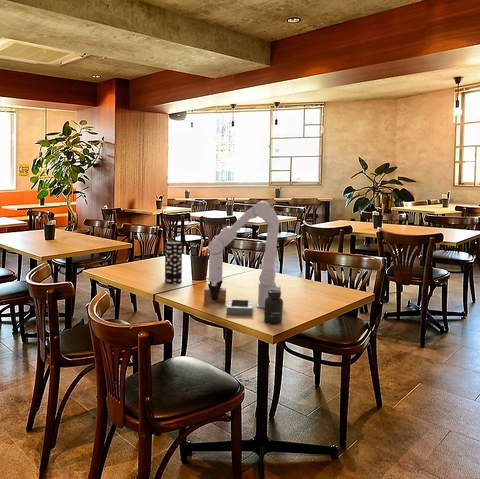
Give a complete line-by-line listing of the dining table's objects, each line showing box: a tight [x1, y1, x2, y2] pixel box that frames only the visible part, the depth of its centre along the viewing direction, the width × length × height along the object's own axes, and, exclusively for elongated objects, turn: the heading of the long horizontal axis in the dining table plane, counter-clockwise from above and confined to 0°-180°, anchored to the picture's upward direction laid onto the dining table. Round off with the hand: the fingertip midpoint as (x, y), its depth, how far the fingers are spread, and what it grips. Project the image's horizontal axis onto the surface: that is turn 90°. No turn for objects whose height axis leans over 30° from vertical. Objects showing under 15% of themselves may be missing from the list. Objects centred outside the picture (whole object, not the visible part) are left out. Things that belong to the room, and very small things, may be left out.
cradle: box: [226, 298, 253, 317], centre depth 188 cm, size 10×12×3 cm
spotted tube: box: [164, 241, 183, 285], centre depth 232 cm, size 8×8×20 cm
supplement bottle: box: [263, 290, 284, 326], centre depth 174 cm, size 7×7×12 cm
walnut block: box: [203, 286, 227, 305], centre depth 199 cm, size 9×4×6 cm, turn 88°
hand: (215, 298), depth 199 cm, fingers closed on walnut block, 4 cm apart
